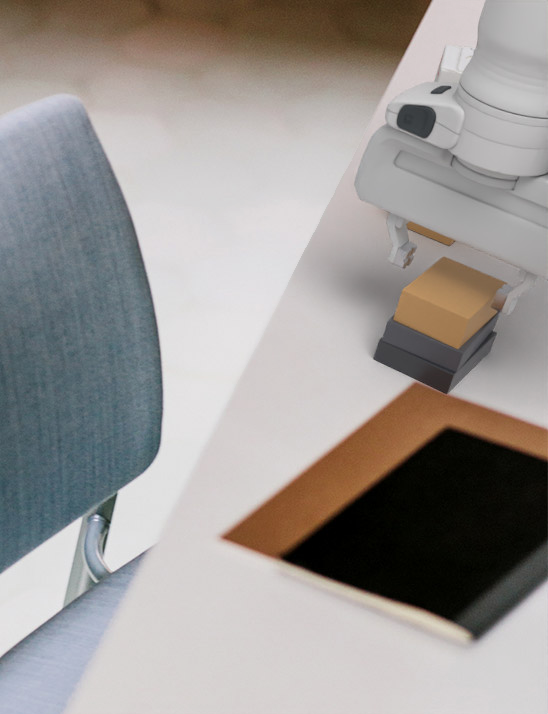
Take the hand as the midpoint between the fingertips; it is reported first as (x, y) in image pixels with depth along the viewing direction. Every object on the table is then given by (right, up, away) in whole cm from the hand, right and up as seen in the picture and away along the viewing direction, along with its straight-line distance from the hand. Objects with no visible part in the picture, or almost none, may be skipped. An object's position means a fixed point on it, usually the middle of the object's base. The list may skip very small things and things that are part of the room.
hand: (449, 286), depth 99 cm
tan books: (+6, +10, +25) cm, 27 cm away
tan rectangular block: (0, -2, +2) cm, 3 cm away
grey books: (0, -5, +4) cm, 7 cm away
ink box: (+11, +19, +36) cm, 42 cm away
